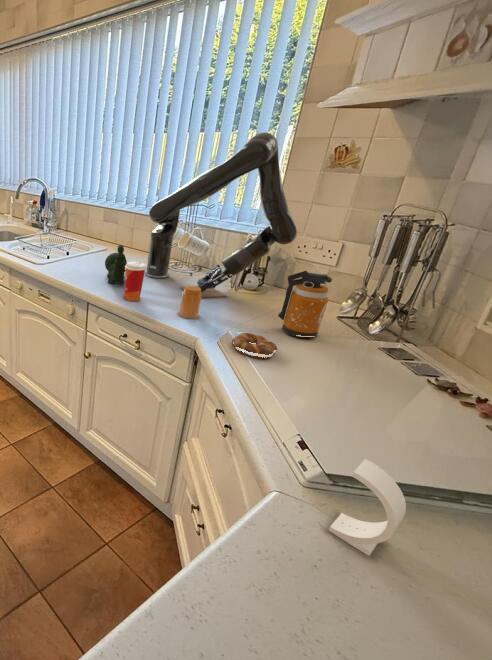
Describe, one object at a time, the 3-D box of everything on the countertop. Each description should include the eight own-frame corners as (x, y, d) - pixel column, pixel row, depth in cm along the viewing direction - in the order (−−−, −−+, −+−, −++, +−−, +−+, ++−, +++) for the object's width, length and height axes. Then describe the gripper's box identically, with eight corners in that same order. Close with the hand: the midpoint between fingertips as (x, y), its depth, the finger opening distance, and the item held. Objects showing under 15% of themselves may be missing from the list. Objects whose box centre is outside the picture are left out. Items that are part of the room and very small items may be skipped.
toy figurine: (128, 293, 163) (123, 270, 185) (134, 250, 154) (128, 231, 176) (105, 292, 165) (102, 269, 187) (109, 249, 156) (106, 231, 178)
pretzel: (221, 341, 120) (223, 330, 118) (255, 339, 120) (258, 328, 119) (247, 361, 108) (250, 349, 107) (284, 359, 109) (288, 347, 108)
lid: (210, 290, 153) (211, 285, 152) (194, 285, 158) (195, 281, 157) (218, 286, 156) (219, 281, 156) (202, 282, 161) (203, 277, 160)
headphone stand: (340, 516, 64) (365, 458, 59) (389, 545, 59) (420, 485, 54) (328, 530, 61) (353, 471, 57) (378, 562, 57) (409, 501, 52)
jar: (175, 312, 140) (180, 285, 137) (192, 311, 141) (196, 285, 137) (184, 319, 135) (189, 291, 131) (201, 318, 135) (206, 290, 131)
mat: (180, 288, 163) (181, 286, 163) (208, 286, 164) (208, 285, 164) (197, 298, 152) (197, 297, 152) (226, 297, 153) (226, 295, 153)
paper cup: (127, 293, 158) (131, 260, 153) (145, 298, 153) (150, 263, 148) (117, 298, 153) (121, 264, 148) (135, 304, 148) (140, 268, 143)
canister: (316, 343, 118) (336, 279, 110) (272, 333, 124) (288, 273, 116) (316, 332, 124) (335, 271, 117) (274, 323, 131) (290, 265, 123)
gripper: (249, 273, 144) (207, 300, 152) (241, 263, 156) (203, 288, 164) (236, 258, 143) (195, 285, 152) (229, 249, 156) (191, 274, 164)
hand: (199, 286), depth 158 cm, fingers closed on lid, 6 cm apart
